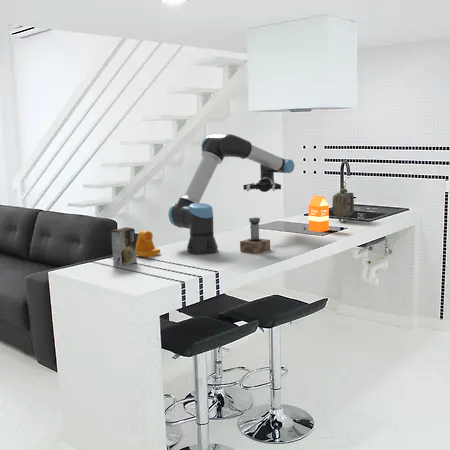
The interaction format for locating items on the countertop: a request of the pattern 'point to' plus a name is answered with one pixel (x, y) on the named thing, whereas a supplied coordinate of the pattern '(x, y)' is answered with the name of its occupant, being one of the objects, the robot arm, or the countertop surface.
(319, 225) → the orange juice
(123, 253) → the coffee box
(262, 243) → the socket block
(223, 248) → the countertop surface
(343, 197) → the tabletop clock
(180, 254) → the countertop surface
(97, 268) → the countertop surface
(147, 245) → the bracket
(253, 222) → the steel pin
